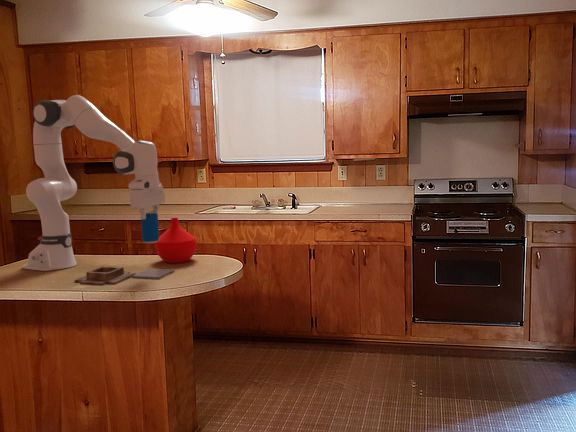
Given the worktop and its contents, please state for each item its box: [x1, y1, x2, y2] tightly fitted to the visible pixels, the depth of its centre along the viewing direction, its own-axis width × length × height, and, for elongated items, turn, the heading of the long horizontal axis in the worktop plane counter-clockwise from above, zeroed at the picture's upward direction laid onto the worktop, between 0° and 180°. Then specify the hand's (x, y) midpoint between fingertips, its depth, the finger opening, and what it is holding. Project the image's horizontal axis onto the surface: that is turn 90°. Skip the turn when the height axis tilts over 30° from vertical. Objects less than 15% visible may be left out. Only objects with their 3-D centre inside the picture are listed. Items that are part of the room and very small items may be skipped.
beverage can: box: [140, 210, 160, 244], centre depth 223 cm, size 6×6×12 cm
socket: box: [74, 265, 137, 286], centre depth 222 cm, size 18×18×4 cm
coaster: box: [131, 268, 175, 280], centre depth 226 cm, size 12×12×1 cm
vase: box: [154, 217, 198, 264], centre depth 249 cm, size 18×18×19 cm
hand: (149, 217), depth 222 cm, fingers closed on beverage can, 6 cm apart
